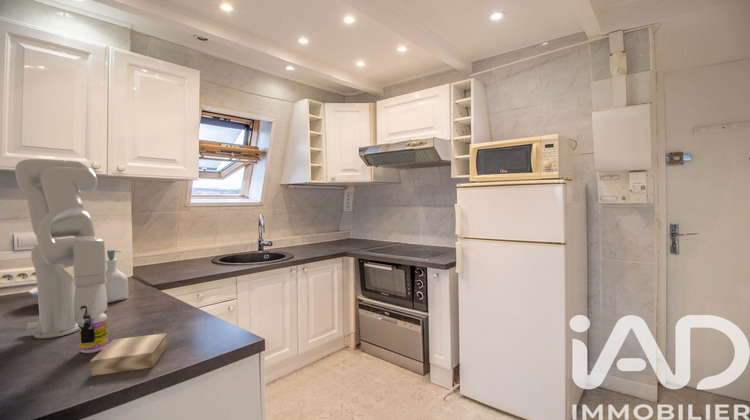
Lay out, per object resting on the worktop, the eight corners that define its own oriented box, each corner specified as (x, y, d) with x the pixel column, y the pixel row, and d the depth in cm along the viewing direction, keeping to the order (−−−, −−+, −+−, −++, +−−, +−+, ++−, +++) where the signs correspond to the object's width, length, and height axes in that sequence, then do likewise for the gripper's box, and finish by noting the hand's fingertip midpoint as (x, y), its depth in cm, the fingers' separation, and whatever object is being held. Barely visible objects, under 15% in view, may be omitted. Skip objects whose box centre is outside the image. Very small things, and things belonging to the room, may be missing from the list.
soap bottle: (130, 298, 160) (127, 249, 158) (105, 304, 151) (102, 252, 150) (121, 295, 165) (118, 247, 164) (96, 301, 157) (93, 251, 156)
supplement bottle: (93, 354, 102) (90, 311, 102) (74, 353, 104) (72, 310, 103) (114, 345, 109) (111, 304, 108) (96, 343, 110) (94, 303, 110)
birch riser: (91, 375, 90) (90, 360, 90) (114, 352, 104) (113, 339, 103) (152, 367, 94) (152, 352, 94) (167, 345, 108) (167, 333, 107)
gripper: (90, 274, 113) (93, 328, 113) (58, 288, 96) (63, 351, 97) (117, 272, 115) (120, 325, 116) (91, 285, 98) (95, 347, 99)
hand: (94, 337), depth 106 cm, fingers closed on supplement bottle, 6 cm apart
